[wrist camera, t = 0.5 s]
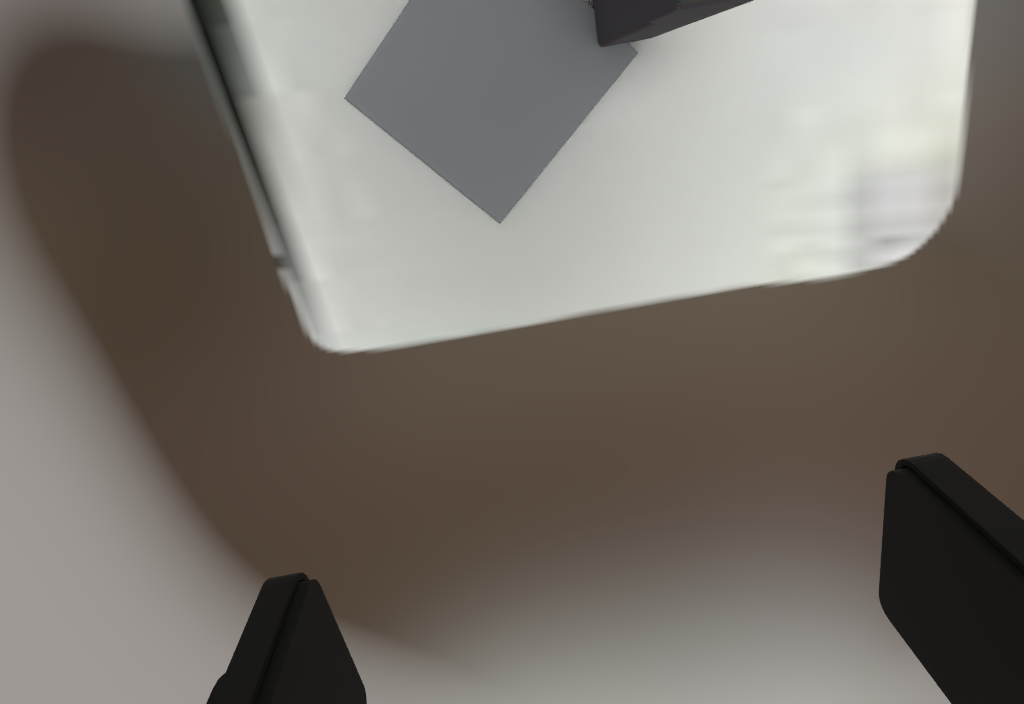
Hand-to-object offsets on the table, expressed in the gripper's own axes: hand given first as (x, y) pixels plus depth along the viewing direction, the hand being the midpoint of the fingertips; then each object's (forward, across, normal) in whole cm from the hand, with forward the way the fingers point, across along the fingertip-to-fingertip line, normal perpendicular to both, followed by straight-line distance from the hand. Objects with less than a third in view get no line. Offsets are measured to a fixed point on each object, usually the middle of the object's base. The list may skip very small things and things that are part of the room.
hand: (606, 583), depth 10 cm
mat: (+30, 0, -8) cm, 31 cm away
